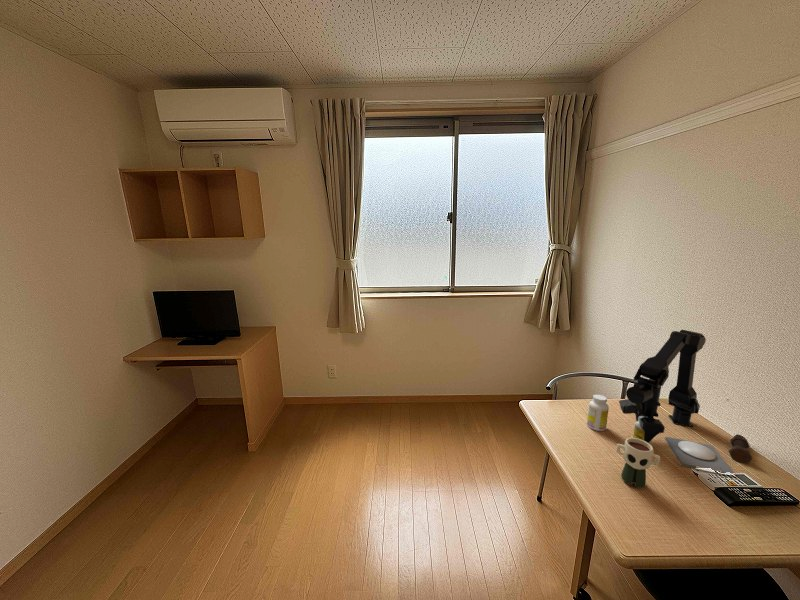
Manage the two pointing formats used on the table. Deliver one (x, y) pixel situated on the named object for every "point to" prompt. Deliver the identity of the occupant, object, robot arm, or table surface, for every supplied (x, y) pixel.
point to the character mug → (636, 460)
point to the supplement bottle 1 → (598, 413)
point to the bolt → (740, 449)
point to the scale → (697, 455)
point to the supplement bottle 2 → (639, 430)
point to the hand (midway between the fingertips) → (642, 435)
